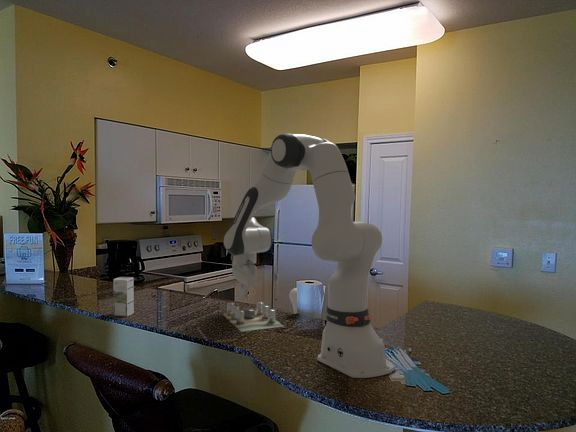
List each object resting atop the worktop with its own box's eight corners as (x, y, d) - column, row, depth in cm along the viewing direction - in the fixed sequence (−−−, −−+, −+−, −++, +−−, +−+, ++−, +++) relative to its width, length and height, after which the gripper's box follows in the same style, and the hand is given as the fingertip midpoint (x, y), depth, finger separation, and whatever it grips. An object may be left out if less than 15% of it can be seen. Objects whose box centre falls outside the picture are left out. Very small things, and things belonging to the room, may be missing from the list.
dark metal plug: (256, 318, 154) (256, 310, 154) (245, 319, 153) (245, 311, 153) (252, 315, 158) (252, 307, 158) (241, 316, 157) (241, 308, 157)
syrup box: (134, 313, 163) (134, 276, 163) (127, 317, 157) (127, 279, 157) (120, 312, 164) (120, 276, 163) (112, 316, 158) (112, 279, 158)
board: (284, 328, 145) (284, 326, 145) (241, 333, 139) (241, 331, 139) (260, 311, 167) (260, 309, 167) (222, 315, 160) (222, 313, 160)
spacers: (276, 323, 149) (276, 310, 149) (240, 327, 143) (240, 314, 143) (259, 311, 165) (259, 299, 165) (226, 314, 159) (226, 303, 159)
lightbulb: (298, 318, 157) (298, 290, 157) (285, 316, 161) (286, 288, 161) (307, 315, 162) (307, 287, 162) (295, 312, 166) (295, 285, 165)
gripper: (262, 261, 151) (261, 299, 152) (244, 254, 170) (244, 287, 171) (245, 262, 149) (245, 300, 149) (229, 255, 167) (229, 288, 168)
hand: (244, 293), depth 160 cm, fingers closed
